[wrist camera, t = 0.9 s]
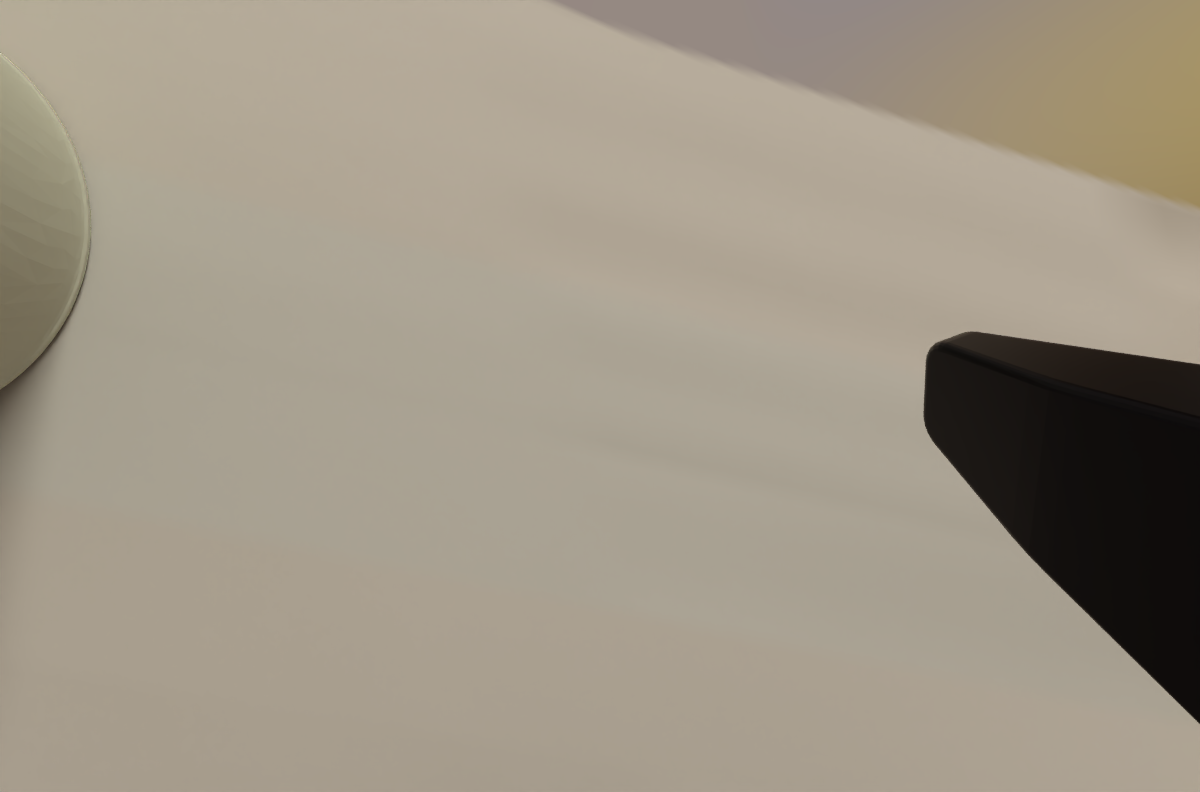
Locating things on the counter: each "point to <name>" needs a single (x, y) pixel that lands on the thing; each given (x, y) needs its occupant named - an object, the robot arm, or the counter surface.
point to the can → (36, 223)
